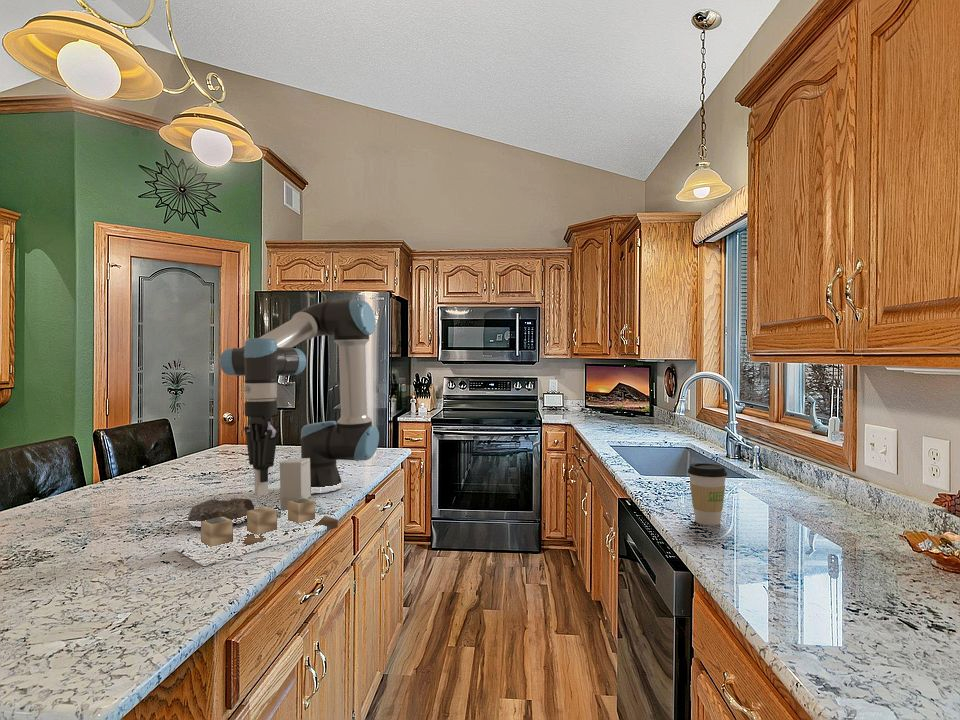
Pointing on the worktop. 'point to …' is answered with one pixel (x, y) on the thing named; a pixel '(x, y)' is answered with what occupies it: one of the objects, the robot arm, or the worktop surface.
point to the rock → (220, 509)
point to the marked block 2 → (301, 510)
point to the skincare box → (294, 480)
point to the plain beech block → (261, 520)
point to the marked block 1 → (216, 531)
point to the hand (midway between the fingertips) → (261, 494)
